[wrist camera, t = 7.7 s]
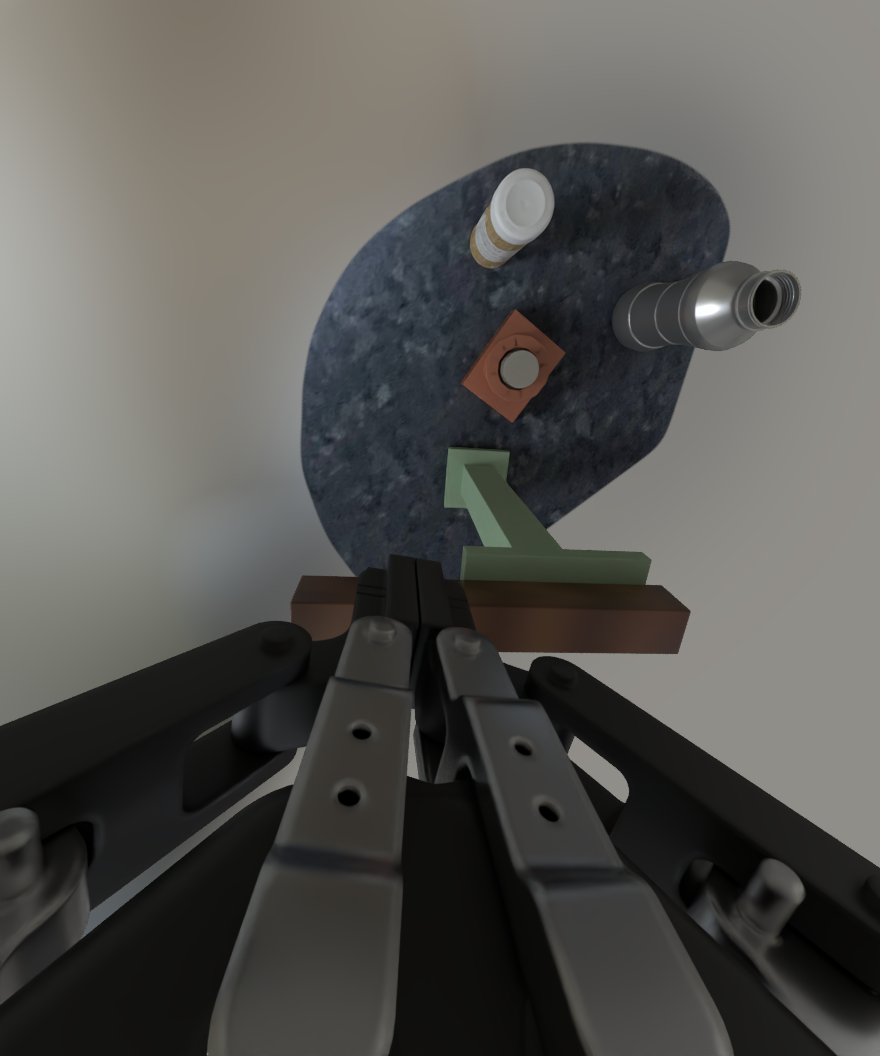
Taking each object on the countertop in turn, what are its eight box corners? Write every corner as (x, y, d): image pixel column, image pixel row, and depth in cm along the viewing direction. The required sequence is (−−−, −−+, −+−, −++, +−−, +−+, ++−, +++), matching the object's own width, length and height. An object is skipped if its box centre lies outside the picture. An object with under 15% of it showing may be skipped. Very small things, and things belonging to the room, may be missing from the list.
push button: (519, 394, 48) (523, 395, 47) (493, 373, 47) (496, 373, 46) (541, 364, 47) (546, 365, 46) (515, 342, 46) (519, 342, 45)
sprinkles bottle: (507, 211, 45) (549, 157, 33) (517, 262, 47) (561, 229, 34) (463, 225, 45) (488, 176, 33) (474, 275, 47) (502, 247, 35)
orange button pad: (508, 420, 53) (516, 425, 49) (459, 383, 51) (464, 385, 47) (559, 352, 50) (572, 352, 47) (510, 311, 49) (520, 307, 45)
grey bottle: (637, 270, 48) (787, 218, 30) (675, 317, 50) (840, 295, 32) (592, 321, 50) (709, 302, 31) (632, 364, 52) (764, 371, 33)
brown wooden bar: (303, 618, 26) (292, 650, 23) (301, 574, 25) (289, 602, 22) (650, 625, 28) (678, 654, 26) (661, 584, 27) (691, 611, 25)
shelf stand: (427, 503, 55) (456, 651, 28) (431, 445, 53) (467, 545, 25) (516, 507, 56) (628, 653, 29) (524, 451, 54) (654, 551, 27)
